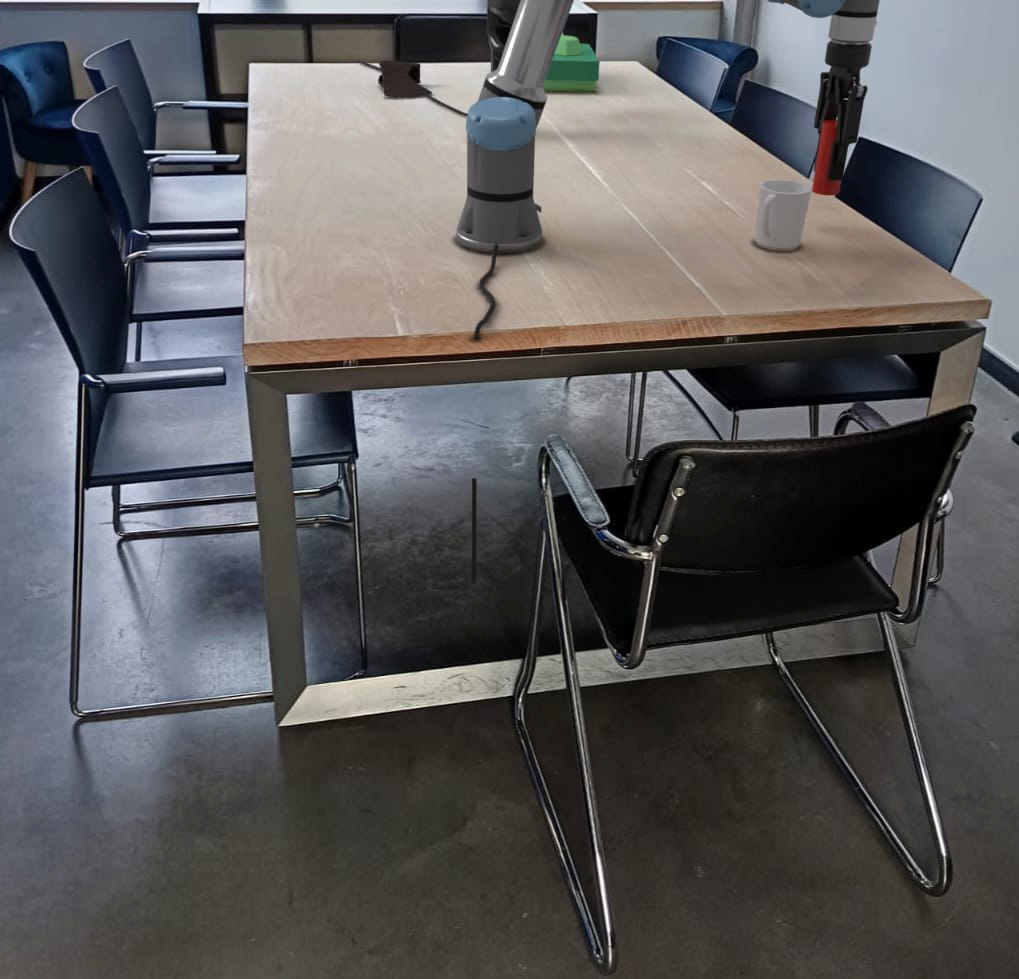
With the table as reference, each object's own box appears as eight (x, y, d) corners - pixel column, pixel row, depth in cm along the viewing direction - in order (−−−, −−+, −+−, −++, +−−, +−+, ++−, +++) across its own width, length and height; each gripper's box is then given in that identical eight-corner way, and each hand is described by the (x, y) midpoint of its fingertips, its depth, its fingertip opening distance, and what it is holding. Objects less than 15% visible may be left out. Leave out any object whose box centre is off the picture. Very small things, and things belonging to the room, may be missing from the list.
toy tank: (586, 25, 325) (600, 46, 295) (584, 69, 332) (597, 94, 302) (527, 24, 324) (535, 45, 294) (526, 68, 331) (533, 93, 301)
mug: (766, 232, 202) (774, 176, 197) (810, 242, 198) (820, 186, 192) (737, 246, 195) (744, 189, 190) (782, 258, 190) (791, 199, 185)
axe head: (443, 87, 294) (392, 77, 287) (436, 115, 299) (385, 106, 292) (421, 62, 307) (371, 52, 300) (414, 89, 311) (365, 80, 304)
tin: (836, 197, 201) (848, 127, 194) (809, 193, 203) (820, 123, 196) (841, 190, 205) (853, 121, 198) (815, 186, 206) (826, 118, 200)
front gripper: (895, 50, 183) (869, 188, 195) (846, 32, 198) (825, 161, 210) (854, 51, 182) (830, 190, 194) (807, 33, 197) (788, 163, 209)
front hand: (827, 175), depth 202 cm, fingers closed on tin, 5 cm apart
